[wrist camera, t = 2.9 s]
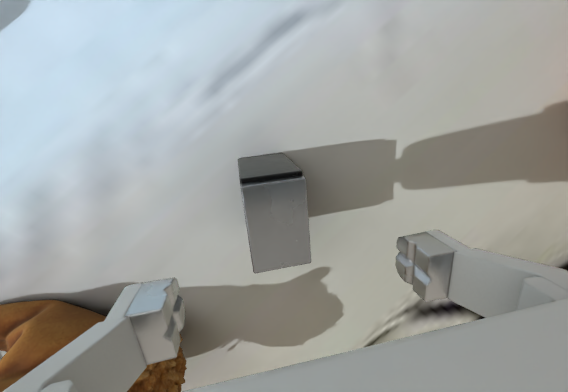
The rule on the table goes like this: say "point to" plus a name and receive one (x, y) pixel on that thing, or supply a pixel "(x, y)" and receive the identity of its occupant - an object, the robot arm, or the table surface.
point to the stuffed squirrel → (65, 343)
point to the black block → (275, 211)
